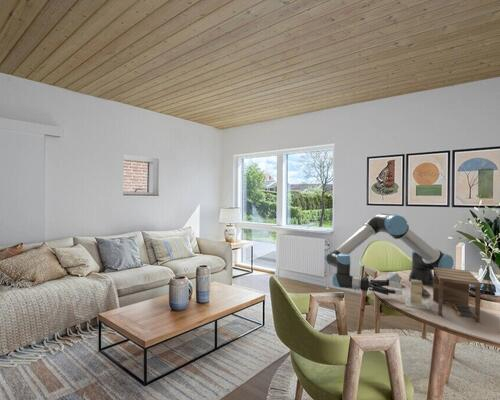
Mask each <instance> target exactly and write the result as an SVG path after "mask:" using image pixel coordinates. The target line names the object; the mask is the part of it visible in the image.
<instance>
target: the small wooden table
mask: <svg viewBox="0 0 500 400" xmlns="http://www.w3.org/2000/svg"><path fill="white" fill-rule="evenodd" d="M432 285H433V287H432V289H433V290H432V301H433V302H438V309H437V310H438V311H437V312H438V314H437V315H438V317H443V303H446V304H447V303H448V304H453V307H454V308H455V310H456V313H457V314H458V316H459V317H460V318H462V317H463V318H468V319H474V322H475V323H479V324H480V321H481V320H480V318H481V317H480V315H481V290H482V289H481V285H482V283H481V282H480V280H478V278H477V277H475V275H474V274H473V273H472V272H471V271H470V270H469V269H467V270H465V269H457V268H456V269H455V268H452V269H448V268H438V267H434V270H433V284H432ZM470 286H475V297H474V298H475V299H474V301H475V303H474V304H475V305H474V313H473V312H472V309H470V307H469V298H470V297H469V296H470V294H469V293H470Z"/></svg>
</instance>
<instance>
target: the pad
mask: <svg viewBox="0 0 500 400" xmlns="http://www.w3.org/2000/svg"><path fill="white" fill-rule="evenodd" d="M404 300H405V301H404V302H405V304H404V305H405V307H409V308H410V307H411V308H416V309H423V310H431V308H430V305H429V302H428V301H424V300H422V306H418V305H412V304H411V302H410V298H404Z"/></svg>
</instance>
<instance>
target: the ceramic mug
mask: <svg viewBox="0 0 500 400" xmlns="http://www.w3.org/2000/svg"><path fill="white" fill-rule="evenodd" d="M408 287H409V290H411V281H410V282H409V285H408ZM422 295H425V296H429V295H430V291H428V290H427V289H425V288H424V284H422Z"/></svg>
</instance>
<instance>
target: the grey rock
mask: <svg viewBox="0 0 500 400" xmlns="http://www.w3.org/2000/svg"><path fill="white" fill-rule="evenodd" d="M385 280H389V282H397V283H401V281H402V276H401V275H400V274H399V273H398V272H397V271H388V273H387V275H386V277H385Z"/></svg>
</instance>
